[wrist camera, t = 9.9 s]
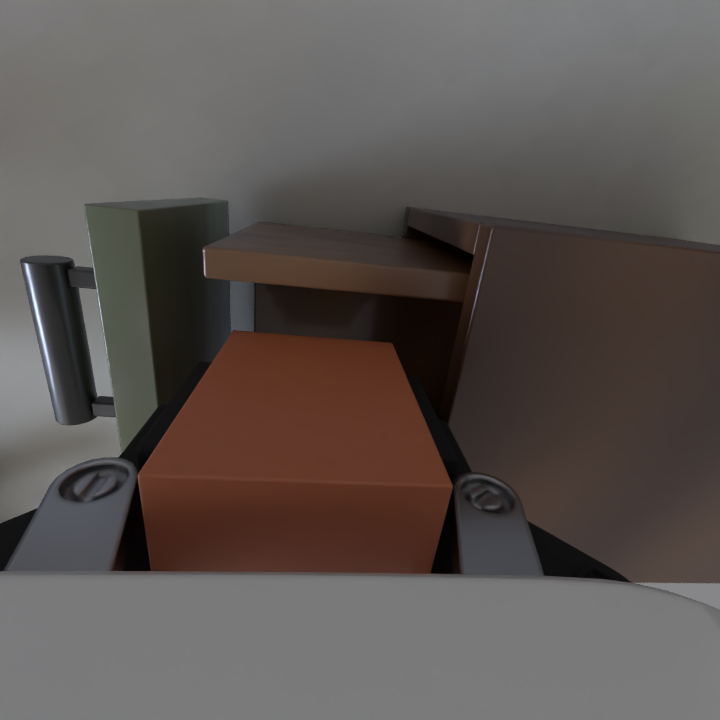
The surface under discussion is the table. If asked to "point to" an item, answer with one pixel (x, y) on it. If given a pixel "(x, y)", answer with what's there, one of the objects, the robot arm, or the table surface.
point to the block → (296, 464)
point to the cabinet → (592, 386)
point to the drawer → (212, 300)
